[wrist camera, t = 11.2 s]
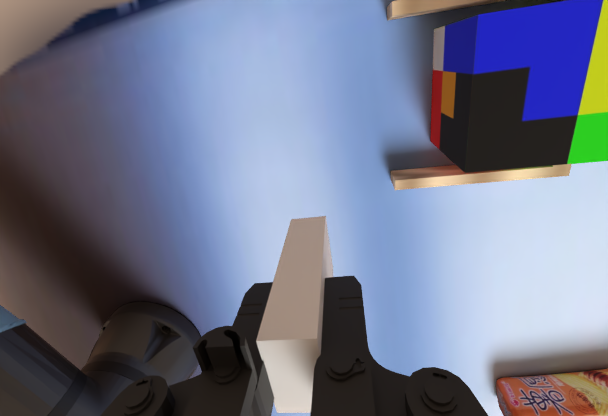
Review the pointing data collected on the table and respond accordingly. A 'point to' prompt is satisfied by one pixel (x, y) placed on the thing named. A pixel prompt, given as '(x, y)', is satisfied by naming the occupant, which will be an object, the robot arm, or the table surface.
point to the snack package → (555, 394)
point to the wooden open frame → (418, 3)
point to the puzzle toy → (522, 87)
